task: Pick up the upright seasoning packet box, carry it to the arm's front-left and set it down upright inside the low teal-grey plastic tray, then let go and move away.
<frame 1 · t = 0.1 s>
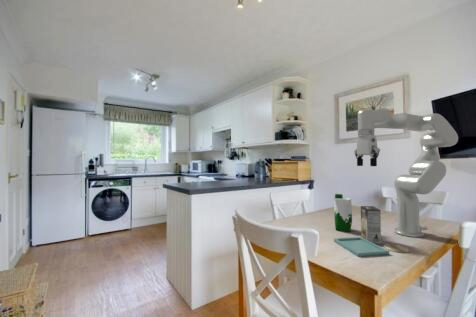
hand: (366, 166, 118), 37 cm above the table, tool pointing down, fingers open, 9 cm apart
cork coaster: (396, 248, 100), on the table
milk carton: (343, 230, 129), on the table
coffee box: (370, 240, 111), on the table
tray: (359, 247, 102), on the table
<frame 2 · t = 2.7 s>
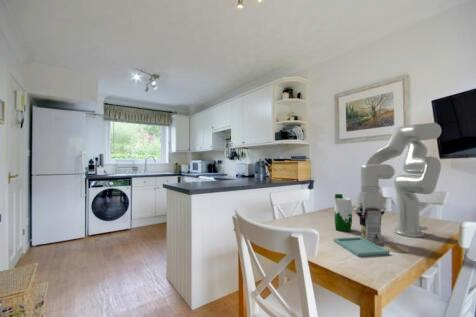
hand: (370, 224, 111), 8 cm above the table, tool pointing down, fingers closed on coffee box, 7 cm apart
coffee box: (370, 240, 111), on the table, touching gripper
everything else where it was.
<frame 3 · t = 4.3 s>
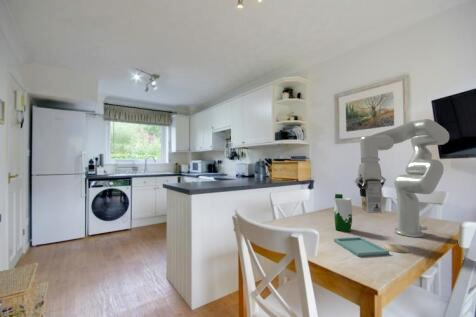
hand: (370, 195, 112), 22 cm above the table, tool pointing down, fingers closed on coffee box, 7 cm apart
coffee box: (371, 211, 112), point 14 cm above the table, touching gripper
everything else where it was.
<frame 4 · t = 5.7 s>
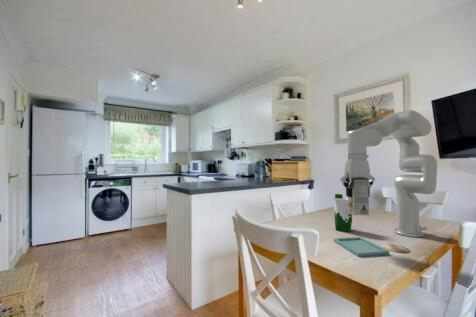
hand: (357, 196, 101), 23 cm above the table, tool pointing down, fingers closed on coffee box, 7 cm apart
coffee box: (358, 213, 101), point 16 cm above the table, touching gripper
everything else where it was.
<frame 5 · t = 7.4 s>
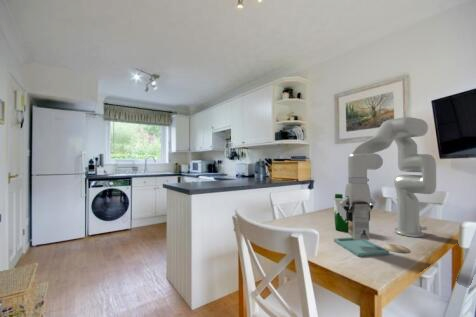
hand: (358, 220, 101), 13 cm above the table, tool pointing down, fingers closed on coffee box, 7 cm apart
coffee box: (358, 237, 101), point 5 cm above the table, touching gripper
everything else where it was.
when the fingers open (9 cm above the table, at t = 8.8 s): coffee box drops 1 cm, resting on tray.
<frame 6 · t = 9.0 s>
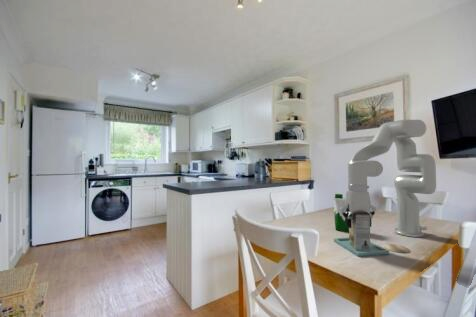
hand: (358, 226, 101), 10 cm above the table, tool pointing down, fingers open, 9 cm apart
coffee box: (359, 247, 101), resting on tray
everything else where it was.
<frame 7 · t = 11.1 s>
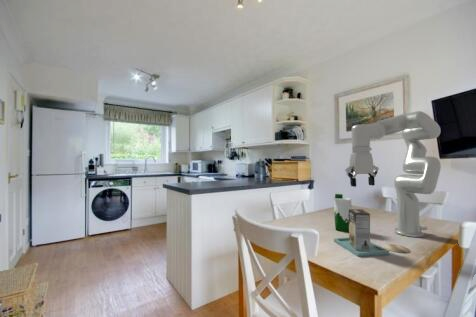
hand: (362, 185, 108), 27 cm above the table, tool pointing down, fingers open, 9 cm apart
nothing on the table moved.
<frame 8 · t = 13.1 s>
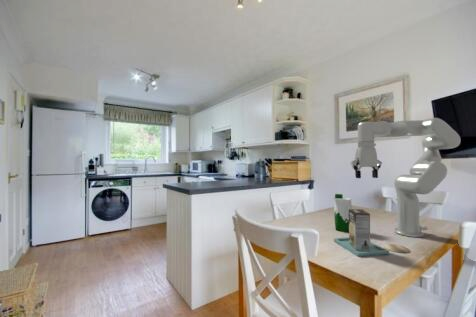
hand: (366, 177, 118), 30 cm above the table, tool pointing down, fingers open, 9 cm apart
nothing on the table moved.
at the end: coffee box inside the target area on the tray (1.1 cm from its centre), point 0.4 cm above the tray's base; coffee box tilted 0°; the gripper is holding nothing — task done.
